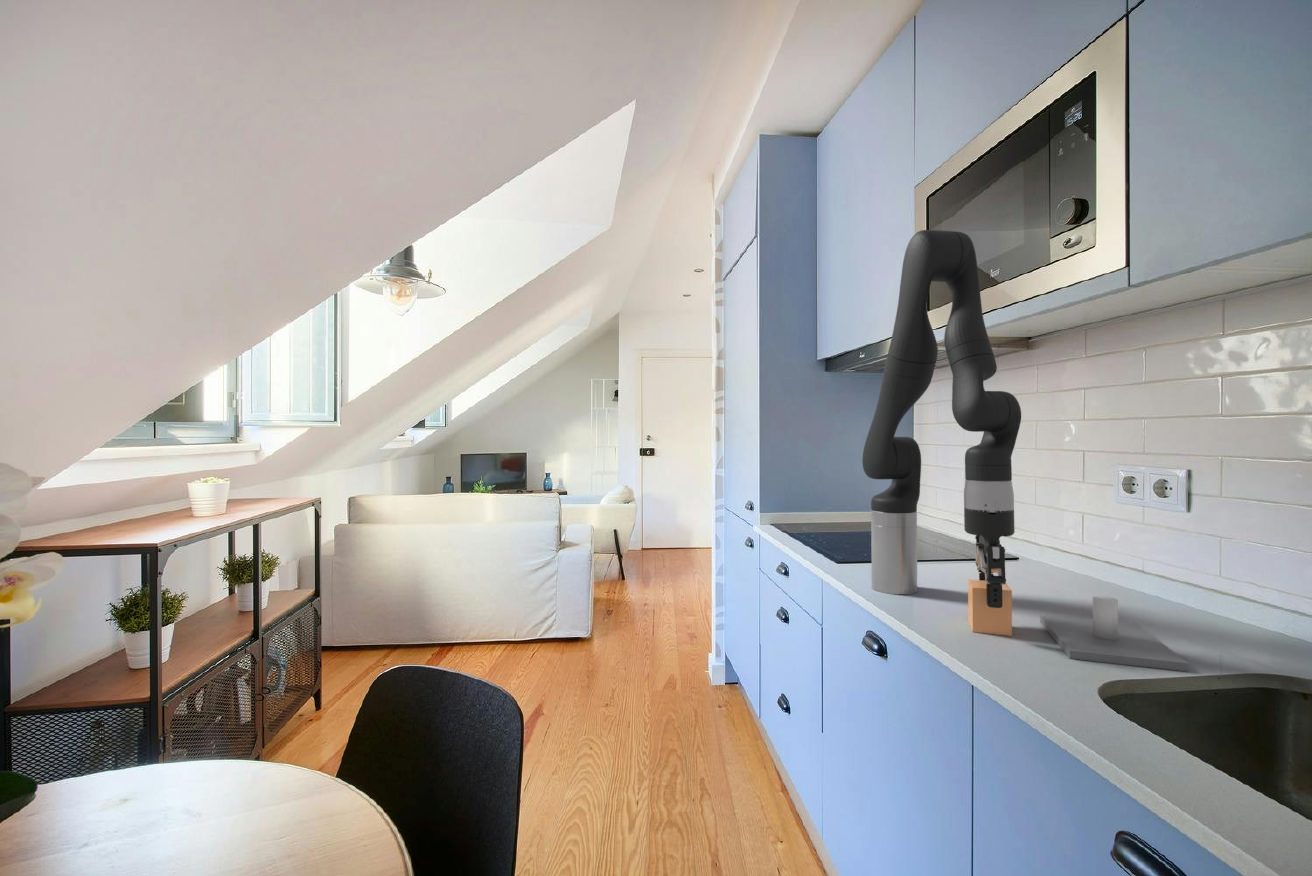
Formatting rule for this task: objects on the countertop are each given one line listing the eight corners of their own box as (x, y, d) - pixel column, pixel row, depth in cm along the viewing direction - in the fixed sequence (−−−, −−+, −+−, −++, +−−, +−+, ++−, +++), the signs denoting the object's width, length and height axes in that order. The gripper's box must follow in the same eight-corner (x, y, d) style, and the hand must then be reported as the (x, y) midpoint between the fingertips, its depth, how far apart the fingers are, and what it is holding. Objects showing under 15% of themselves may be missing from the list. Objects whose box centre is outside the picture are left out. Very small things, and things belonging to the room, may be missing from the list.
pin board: (1040, 621, 104) (1040, 581, 104) (1136, 630, 99) (1136, 588, 99) (1069, 658, 88) (1069, 610, 88) (1187, 671, 83) (1187, 620, 82)
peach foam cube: (968, 621, 105) (968, 579, 105) (1005, 625, 103) (1005, 582, 103) (972, 632, 100) (972, 587, 99) (1011, 636, 97) (1011, 590, 97)
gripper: (959, 501, 109) (961, 589, 109) (969, 510, 96) (971, 609, 95) (1005, 502, 106) (1007, 592, 106) (1022, 511, 93) (1024, 614, 93)
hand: (990, 600), depth 101 cm, fingers open, 8 cm apart
